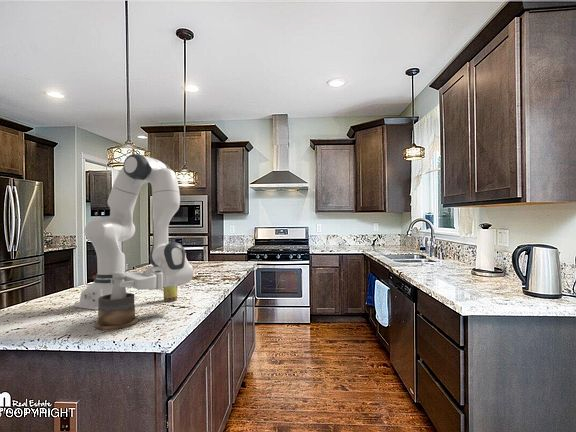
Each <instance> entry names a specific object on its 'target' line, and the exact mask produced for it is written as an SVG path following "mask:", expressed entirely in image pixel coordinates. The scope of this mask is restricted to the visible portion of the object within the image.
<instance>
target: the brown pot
mask: <svg viewBox="0 0 576 432" xmlns="http://www.w3.org/2000/svg"><path fill="white" fill-rule="evenodd" d="M126 294H127V298H123V299H114V300H110V298H111V294H109V295H105V296H101V297H100V298H99V299H98V310H97V321H96V322H95V323H94V329H96V330H99V331H113V330H114V331H115V330H122V329H124V328H125V329H127V328H130V327H132V326H135V325H136V324H137V323H138V322H139V319H138V317H137V316H136V305H135V294H134V293H131V292H127V293H126Z"/></svg>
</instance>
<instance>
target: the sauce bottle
mask: <svg viewBox="0 0 576 432" xmlns="http://www.w3.org/2000/svg"><path fill="white" fill-rule="evenodd" d="M162 291H163V301H164V302H174V301H176V300H178V286H174V287H169V286H168V287H164V288H163V289H162Z"/></svg>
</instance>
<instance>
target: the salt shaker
mask: <svg viewBox="0 0 576 432" xmlns="http://www.w3.org/2000/svg"><path fill="white" fill-rule="evenodd" d="M125 272H126V271H125ZM125 272H123V271H118V272H114V273H113V275H112V277H113V279H114V283H113V289H112V294H111V298H110V300H114V299H123V298H127V294H126V292H127V288H126V289H125V287H119V282H123V281H124V278H125Z"/></svg>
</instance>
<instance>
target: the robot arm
mask: <svg viewBox="0 0 576 432" xmlns="http://www.w3.org/2000/svg"><path fill="white" fill-rule="evenodd" d="M146 183H148V184H149V185H151V195H152V197H151V198H152V210H153V212H152V247H151V250H150V253H149V262H150V264H151V265H152V266H151V267H150V266H148V267H147V268H146V269H145V270H143V272H137V271H136V272H135V271H134V272H126V255H125V253H124V252H123V251H122V250H121V249H120V246H119V245H120V244H119V243H121V242H125V241H127V240H130V239H131V238H133V237H134V235H135V232H136V226H135V224H134V221H133V220H134V219H133V215H134V209H135V207H136V203H137V201H138V197H139V195H140V192H141V189H142V186H143V185H144V184H146ZM179 186H180V185H179V181H178V178H177V174H176V173H175V171H174V170H172V169H171V167H170V166H169V165H168V164H167V163H165V162H164V161H160V160H158V159H156V158H154V157H150V156H145V155H143V154H139V153H135V154H134V153H131V154H129V155H128V156H127V157H126V158H125V160H124V161H123V167H122V168H121V169H120V170H119V172H118V174H117V176H116V178H115V180H114V182H113V184H112V187H111V190H110V192H109V196H108V198H107V203H106V204H107V206H108V207H109V211H110V214H109V217H100V218H96V219H92V220H90V221H88V222H87V223H86V225H85V226H84V235H85V238H86V239H87V240H88V241H89V242H90V243H91V244H92V247H94V251H95V253H96V262H97V266H96V267H97V273H96V274H95V275H92V276H91V277H92V279H94V280H93V283H91V284H90V285H88V286H87V288H85V289H83V290H82V292H80V297H79V301H77V302H75V303H73V307H74V308H79V309H80V308H82V309H87V310H96V311H98V299H99V298H100V297H101V296H105V295H109V294H112V289H113V283H114V279H113V277H112V275H113V273H114V272H118V271H123V272H125V278H124V281H123V282H119V287H125V289H126V290H127V288H134V289H137V290H141V291H143V290H144V291H145V290H146V291H147V290H149V291H153V290H157V291H159V290H160V291H161V290H163V288H164V287H168V286H169V287H174V286H177V287H180V286H183V285H186V284H188V283H190V282H191V281H192V279H193V277H194V268H193V265H192V264H191V263H190V261H188V259H187V256H186V251H185V247H184V246H183V245H182V244H180V243H179V242H176V241H173V242H169V226H170V222H171V221H172V218H173V217H174V216H175V214H176V213H177V212H178V211H179V208H180V204H181V194H180V193H181V192H180V187H179ZM126 293H128V292H127V291H126Z"/></svg>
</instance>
